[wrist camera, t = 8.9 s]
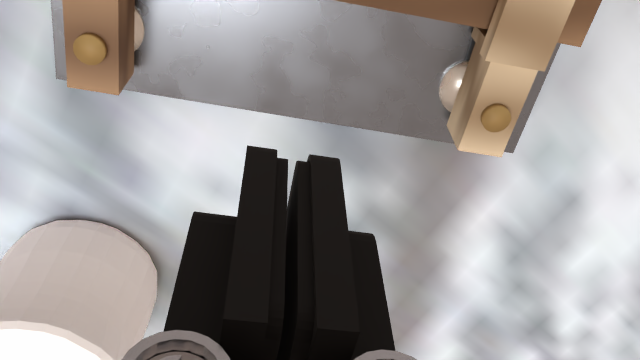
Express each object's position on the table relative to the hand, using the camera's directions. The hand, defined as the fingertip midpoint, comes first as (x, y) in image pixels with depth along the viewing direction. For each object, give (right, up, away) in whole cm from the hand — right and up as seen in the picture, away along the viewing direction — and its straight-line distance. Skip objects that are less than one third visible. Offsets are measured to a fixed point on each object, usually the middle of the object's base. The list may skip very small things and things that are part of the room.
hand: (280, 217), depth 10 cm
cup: (-15, -5, +28) cm, 33 cm away
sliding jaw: (+10, +8, +19) cm, 22 cm away
